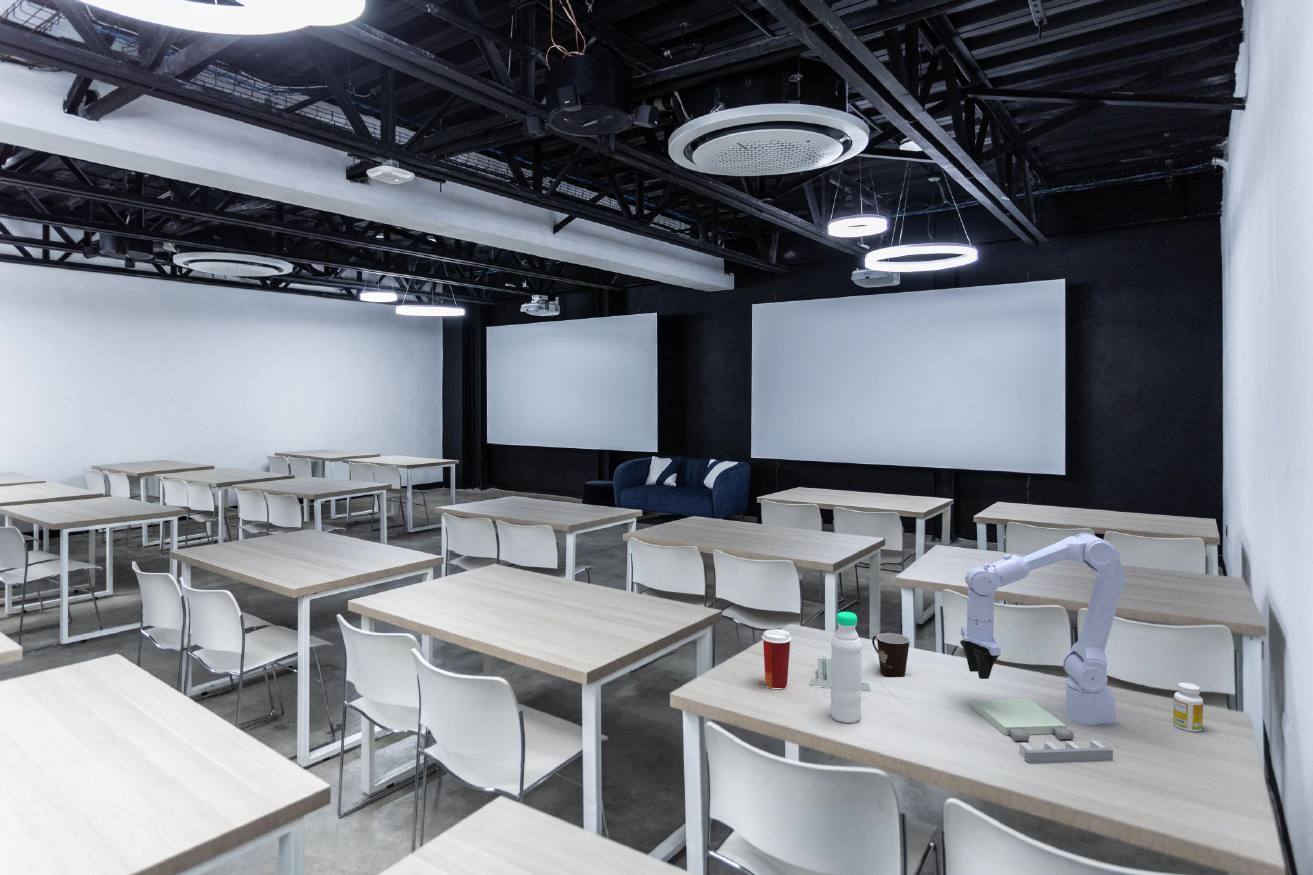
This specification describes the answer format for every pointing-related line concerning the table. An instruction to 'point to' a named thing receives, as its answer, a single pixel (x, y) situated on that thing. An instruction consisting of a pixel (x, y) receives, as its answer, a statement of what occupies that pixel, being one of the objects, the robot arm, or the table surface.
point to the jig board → (1066, 753)
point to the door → (1021, 718)
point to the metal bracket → (829, 675)
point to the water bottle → (846, 670)
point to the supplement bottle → (1188, 708)
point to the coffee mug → (892, 654)
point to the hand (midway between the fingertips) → (979, 674)
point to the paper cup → (776, 657)
